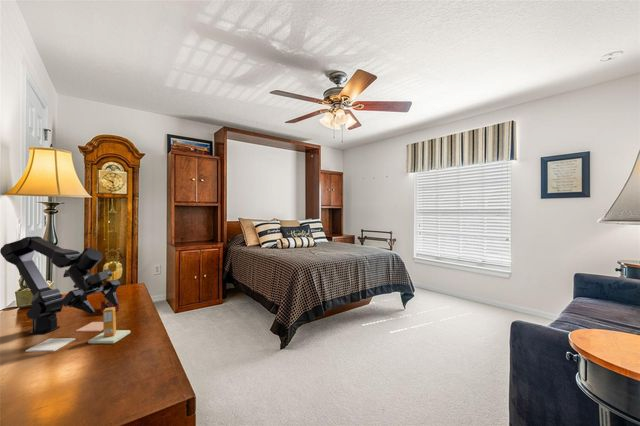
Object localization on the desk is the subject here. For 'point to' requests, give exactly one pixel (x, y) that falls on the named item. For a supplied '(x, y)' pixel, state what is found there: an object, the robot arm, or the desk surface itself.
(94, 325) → the terracotta tile
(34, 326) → the robot arm
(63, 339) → the white tile
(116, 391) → the desk surface
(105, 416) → the desk surface
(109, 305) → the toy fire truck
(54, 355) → the desk surface
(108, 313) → the supplement box
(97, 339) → the sage tile
